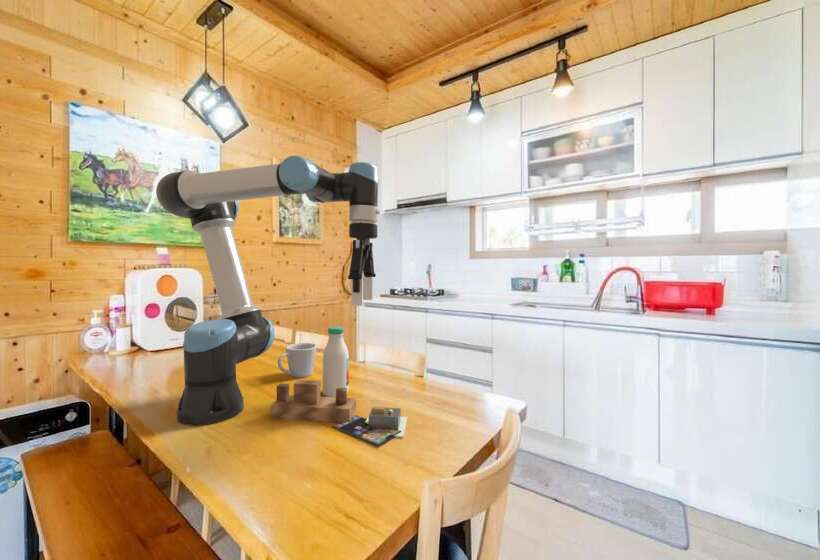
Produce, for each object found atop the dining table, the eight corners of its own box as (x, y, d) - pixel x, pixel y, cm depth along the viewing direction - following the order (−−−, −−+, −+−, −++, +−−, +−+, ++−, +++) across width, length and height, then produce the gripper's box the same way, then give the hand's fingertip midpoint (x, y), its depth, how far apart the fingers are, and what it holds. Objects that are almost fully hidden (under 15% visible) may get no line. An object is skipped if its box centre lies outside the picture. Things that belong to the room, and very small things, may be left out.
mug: (323, 373, 126) (323, 345, 126) (288, 385, 114) (288, 354, 113) (303, 368, 132) (303, 341, 131) (267, 379, 119) (267, 349, 119)
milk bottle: (342, 399, 103) (343, 330, 102) (318, 396, 104) (318, 329, 103) (352, 389, 110) (352, 325, 109) (329, 387, 112) (329, 324, 111)
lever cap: (368, 429, 84) (368, 411, 83) (372, 419, 89) (372, 403, 89) (398, 430, 83) (398, 413, 83) (400, 420, 88) (400, 404, 88)
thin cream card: (360, 435, 81) (360, 433, 81) (368, 416, 91) (368, 415, 91) (403, 437, 81) (403, 436, 81) (407, 418, 90) (407, 417, 90)
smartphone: (355, 417, 92) (355, 413, 92) (401, 435, 83) (401, 430, 83) (331, 429, 85) (331, 424, 85) (378, 449, 76) (378, 444, 76)
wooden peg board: (271, 418, 89) (270, 385, 89) (283, 407, 96) (283, 376, 96) (349, 422, 88) (349, 389, 87) (355, 411, 95) (356, 379, 94)
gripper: (368, 217, 82) (367, 308, 83) (384, 227, 107) (383, 298, 108) (336, 217, 83) (335, 308, 84) (359, 227, 108) (359, 297, 109)
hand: (362, 302), depth 96 cm, fingers open, 13 cm apart
